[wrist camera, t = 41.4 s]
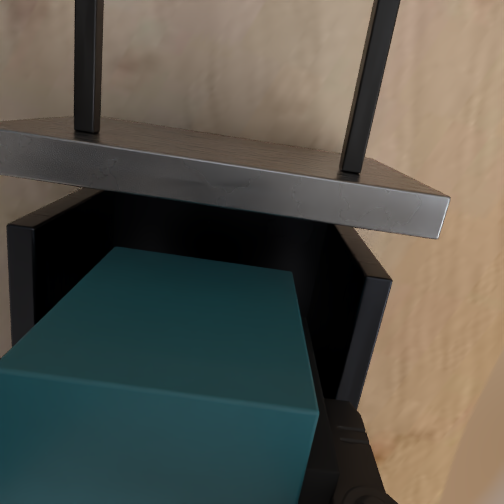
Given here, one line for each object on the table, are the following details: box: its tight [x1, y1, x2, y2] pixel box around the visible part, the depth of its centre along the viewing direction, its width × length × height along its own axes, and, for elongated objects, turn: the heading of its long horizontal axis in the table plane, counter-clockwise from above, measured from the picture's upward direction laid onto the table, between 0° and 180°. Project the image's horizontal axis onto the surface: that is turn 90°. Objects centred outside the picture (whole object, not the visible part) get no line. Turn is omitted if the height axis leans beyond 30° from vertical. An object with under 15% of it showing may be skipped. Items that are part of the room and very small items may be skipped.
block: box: [0, 247, 319, 504], centre depth 12 cm, size 6×6×7 cm
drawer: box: [0, 0, 450, 410], centre depth 16 cm, size 20×13×8 cm, turn 172°
